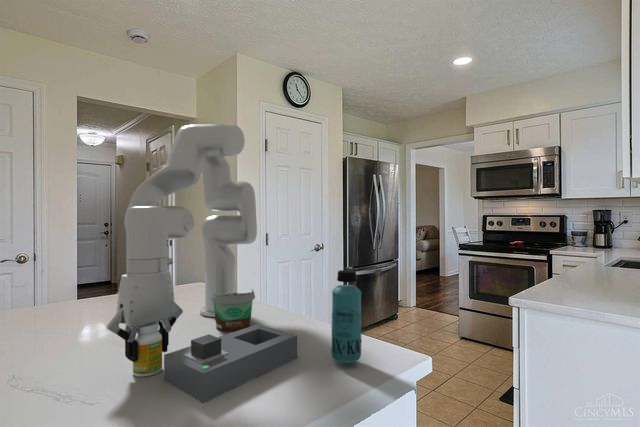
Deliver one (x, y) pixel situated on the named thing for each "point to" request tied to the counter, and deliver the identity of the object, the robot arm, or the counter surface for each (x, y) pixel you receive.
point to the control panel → (228, 360)
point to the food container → (233, 311)
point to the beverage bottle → (346, 319)
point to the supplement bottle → (148, 350)
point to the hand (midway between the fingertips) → (147, 354)
